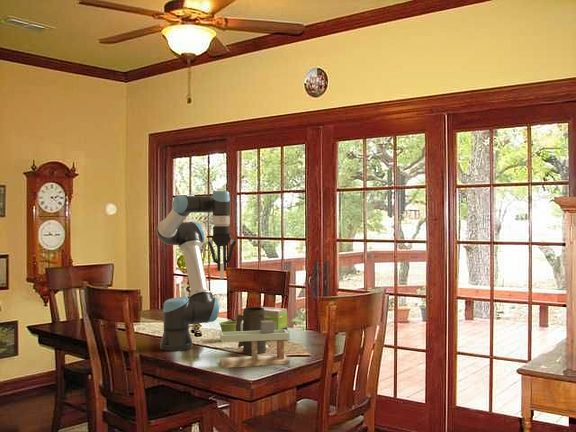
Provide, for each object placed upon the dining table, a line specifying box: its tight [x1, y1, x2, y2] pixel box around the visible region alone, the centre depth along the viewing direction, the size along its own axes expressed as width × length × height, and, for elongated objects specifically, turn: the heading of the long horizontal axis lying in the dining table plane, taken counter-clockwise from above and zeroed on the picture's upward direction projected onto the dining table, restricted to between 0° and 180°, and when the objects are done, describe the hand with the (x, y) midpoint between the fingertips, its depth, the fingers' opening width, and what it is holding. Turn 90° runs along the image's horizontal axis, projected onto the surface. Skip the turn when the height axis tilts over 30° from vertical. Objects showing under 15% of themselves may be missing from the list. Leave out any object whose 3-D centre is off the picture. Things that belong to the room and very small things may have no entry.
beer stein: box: [236, 306, 267, 354], centre depth 279 cm, size 15×11×20 cm
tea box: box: [260, 306, 288, 332], centre depth 313 cm, size 15×10×15 cm, turn 62°
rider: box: [260, 320, 274, 334], centre depth 260 cm, size 5×5×6 cm
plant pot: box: [219, 320, 237, 332], centre depth 308 cm, size 9×9×9 cm
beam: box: [219, 330, 290, 343], centre depth 259 cm, size 28×8×3 cm, turn 101°
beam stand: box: [219, 340, 291, 369], centre depth 259 cm, size 28×11×10 cm, turn 101°
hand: (221, 278), depth 275 cm, fingers closed
